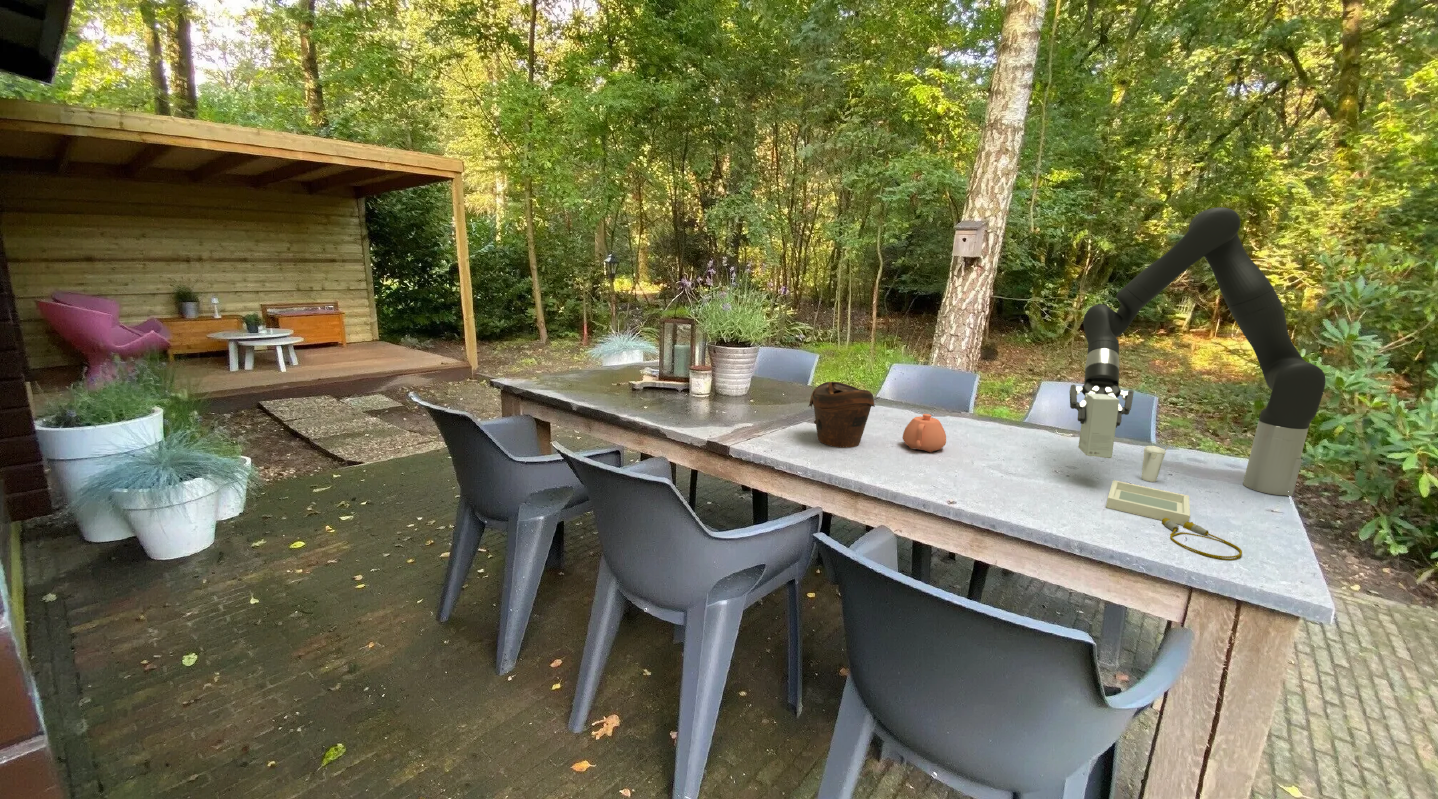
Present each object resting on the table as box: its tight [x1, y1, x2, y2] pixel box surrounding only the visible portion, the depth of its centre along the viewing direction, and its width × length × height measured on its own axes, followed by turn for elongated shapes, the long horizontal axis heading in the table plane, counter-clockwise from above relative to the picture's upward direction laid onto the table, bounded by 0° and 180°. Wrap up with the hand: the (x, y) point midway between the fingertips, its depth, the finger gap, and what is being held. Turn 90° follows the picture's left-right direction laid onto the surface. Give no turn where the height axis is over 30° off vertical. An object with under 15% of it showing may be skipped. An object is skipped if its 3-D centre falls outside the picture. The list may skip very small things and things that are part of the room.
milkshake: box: [1140, 443, 1171, 483], centre depth 156 cm, size 5×5×10 cm
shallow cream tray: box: [1105, 479, 1191, 526], centre depth 139 cm, size 15×15×2 cm
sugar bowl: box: [902, 413, 947, 453], centre depth 176 cm, size 12×14×10 cm
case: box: [808, 381, 875, 448], centre depth 179 cm, size 18×20×18 cm
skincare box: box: [1078, 393, 1120, 459], centre depth 150 cm, size 8×6×15 cm
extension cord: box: [1161, 518, 1243, 561], centre depth 121 cm, size 12×16×2 cm
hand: (1099, 423), depth 149 cm, fingers closed on skincare box, 6 cm apart
